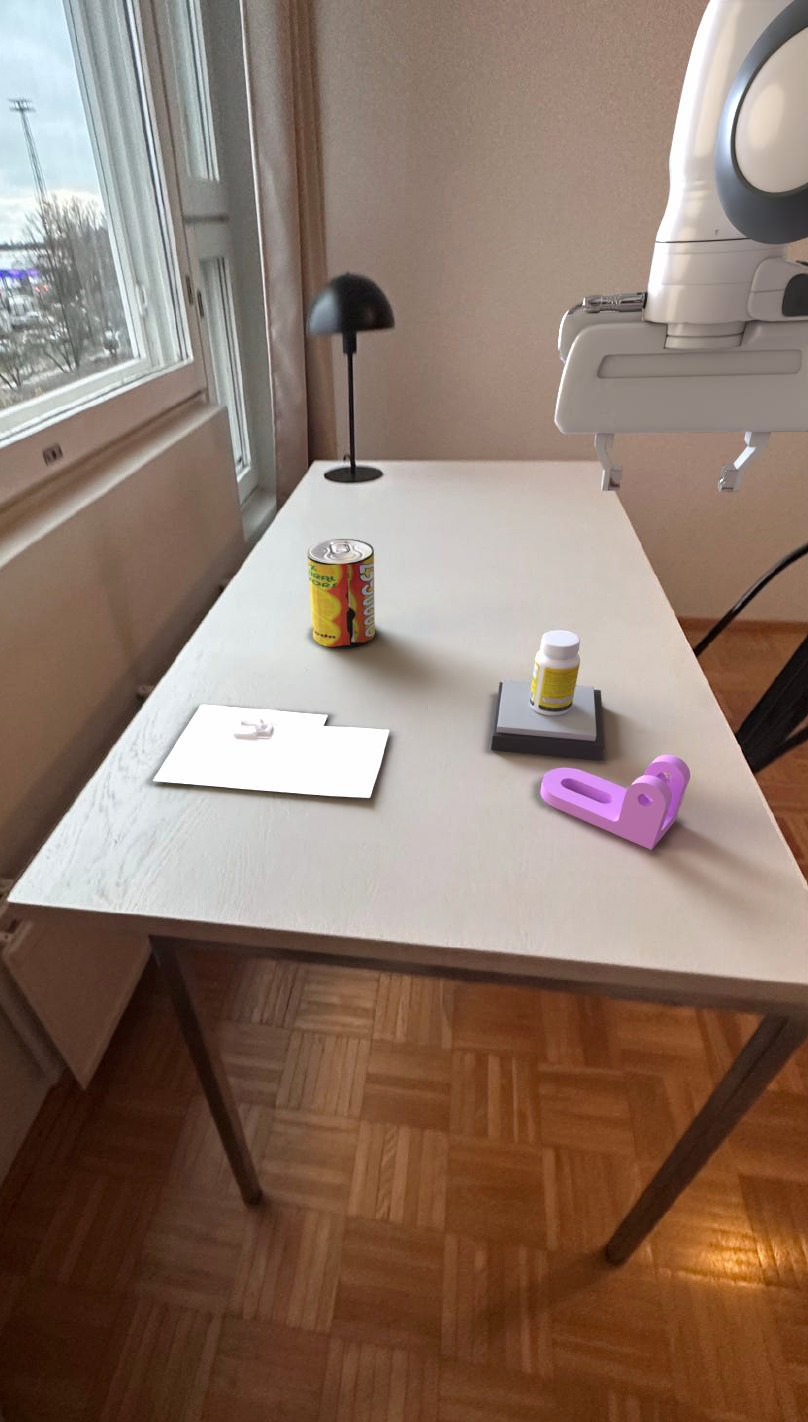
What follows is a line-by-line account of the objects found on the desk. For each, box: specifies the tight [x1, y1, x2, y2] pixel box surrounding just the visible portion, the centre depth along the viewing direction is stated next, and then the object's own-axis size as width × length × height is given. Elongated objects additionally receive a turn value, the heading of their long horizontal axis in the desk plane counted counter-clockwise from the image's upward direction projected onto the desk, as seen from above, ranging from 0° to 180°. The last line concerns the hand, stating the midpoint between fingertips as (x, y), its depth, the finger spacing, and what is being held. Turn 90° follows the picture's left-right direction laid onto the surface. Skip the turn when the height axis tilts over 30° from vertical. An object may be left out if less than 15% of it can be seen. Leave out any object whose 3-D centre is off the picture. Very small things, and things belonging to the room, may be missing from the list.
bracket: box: [540, 754, 691, 851], centre depth 72 cm, size 13×6×7 cm, turn 49°
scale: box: [490, 679, 606, 761], centre depth 85 cm, size 12×12×3 cm
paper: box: [152, 704, 390, 799], centre depth 84 cm, size 25×17×1 cm
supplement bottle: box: [529, 629, 581, 716], centre depth 81 cm, size 5×5×8 cm
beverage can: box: [306, 538, 376, 649], centre depth 102 cm, size 9×9×12 cm
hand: (667, 489), depth 62 cm, fingers open, 8 cm apart
